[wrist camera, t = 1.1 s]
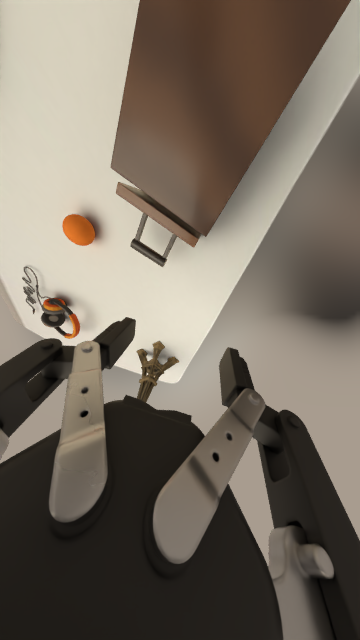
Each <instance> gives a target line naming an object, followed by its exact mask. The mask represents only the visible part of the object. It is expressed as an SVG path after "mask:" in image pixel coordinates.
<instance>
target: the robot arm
mask: <svg viewBox="0 0 360 640" xmlns="http://www.w3.org/2000/svg"><path fill="white" fill-rule="evenodd" d="M135 325H136V320H135V319H131V318H128V317H126V318H125V319H124V320H122V321H121V322H120V321H117V322H115V323H113V324H111V325H110V326H109V327H108V328H107V329H105V331H103V332H102V333H101V334H100V335H98V336H97V337H96V338H95V339H94V340H93V341H85V342H82V343H80V344H78V345H77V346H62V342H61V341H60V340H59V339H54V338H50V339H44V340H41V341H39V342H37V343H35V344H34V345H32V346H31V347H29V348H27V349H26V350H24V351H23V352H21V353H20V354H18V355H16V356H15V357H13V358H12V359H10V360H9V361H7V362H5V363H4V364H2V365H1V366H0V459H1V458H2V455H3V453H4V452H5V450H6V449H7V446H8V444H9V437H10V436H11V435H12V433H14V432H15V431H16V429H17V428H18V427H19V426H20V425H21V424H22V423H23V422H24V421H25V420H26V419H27V418H28V417H29V416H30V415H31V414H32V413H33V412H34V411H35V410H36V409H37V407H38V406H39V405H40V404H41V403H42V402H43V401H44V400H45V399H46V398H47V397H48V396H49V395H50V394H51V393H52V392H53V391H54V390H55V389H56V388H57V387H58V386H59V385H60V384H61V383H62V381H63V380H64V379H68V383H67V390H66V397H65V405H64V412H63V420H62V427H61V429H60V430H58V431H56V432H54V433H53V434H51V435H49V436H48V437H46V438H44V439H42V440H41V441H39V442H37V443H36V444H34V445H32V446H30V447H28V448H27V449H25V450H23V451H21V452H20V453H18V454H16V455H15V456H13V457H11V458H9V459H8V460H6V461H4V462H2V463H1V464H0V640H360V541H359V539H358V537H357V534H356V532H355V530H354V528H353V526H352V524H351V521H350V519H349V517H348V515H347V513H346V511H345V509H344V507H343V505H342V503H341V501H340V498H339V496H338V494H337V492H336V490H335V488H334V486H333V484H332V481H331V479H330V477H329V475H328V473H327V471H326V469H325V467H324V465H323V462H322V460H321V458H320V456H319V454H318V452H317V450H316V448H315V445H314V443H313V441H312V439H311V437H310V435H309V433H308V431H307V428H306V427H305V425H304V423H303V422H302V421H301V419H300V418H299V417H298V416H296V415H295V414H294V413H292V412H290V411H288V410H282V411H280V412H277V411H275V410H274V409H272V408H270V407H269V406H267V405H265V402H264V400H263V398H262V397H261V396H260V395H259V394H258V393H257V392H256V391H255V390H254V386H253V383H252V380H251V376H250V374H249V370H248V367H247V363H246V362H245V361H244V359H243V358H241V357H240V356H239V353H238V350H236V349H233V348H229V347H228V348H227V349H226V351H225V353H224V355H223V357H222V359H221V361H220V365H219V370H220V382H221V395H222V405H224V406H227V407H228V409H227V410H226V412H225V413H224V414H223V415H222V416H221V418H220V419H219V420H218V421H217V423H216V424H215V425H214V426H213V428H212V429H211V430H210V431H209V432H208V434H207V435H206V436H204V434H203V433H202V432H201V430H200V429H199V428H198V427H197V426H196V425H195V424H193V423H192V422H191V415H187V414H184V413H181V412H178V411H172V410H156V409H154V408H153V407H152V406H150V405H149V404H147V403H146V402H144V401H143V400H140V399H137V398H134V397H131V396H127V395H126V396H125V397H124V399H123V400H117V401H112V402H108V403H106V404H104V398H103V384H102V370H104V368H107V369H111V368H112V366H113V365H114V364H115V363H116V361H117V360H118V359H119V357H120V356H121V355H122V354H123V352H124V351H125V350H126V348H127V347H128V346H129V344H130V343H131V342H132V340H133V338H134V335H135ZM40 371H41V372H40ZM39 372H40V373H39ZM37 373H38V374H37ZM36 374H37V375H36ZM35 375H36V376H35ZM34 376H35V377H34ZM33 377H34V378H33ZM31 378H33V379H31ZM30 379H31V380H30ZM29 380H30V381H29ZM28 381H29V382H28ZM27 382H28V383H27ZM252 437H253V438H255V439H256V440H257V441H258V447H259V452H260V457H261V462H262V468H263V473H264V478H265V483H266V488H267V494H268V499H269V504H270V509H271V514H272V519H273V525H274V529H273V530H272V531H271V533H270V536H269V566H267V563H266V561H265V559H264V556H263V554H262V552H261V550H260V548H259V546H258V544H257V542H256V540H255V538H254V536H253V534H252V532H251V530H250V527H249V526H248V524H247V521H246V519H245V517H244V515H243V513H242V511H241V509H240V507H239V505H238V503H237V501H236V499H235V497H234V494H233V492H232V490H231V489H230V486H229V484H228V482H229V480H230V478H231V476H232V474H233V473H234V471H235V469H236V467H237V465H238V463H239V461H240V459H241V457H242V455H243V453H244V451H245V450H246V448H247V446H248V444H249V442H250V440H251V438H252Z"/></svg>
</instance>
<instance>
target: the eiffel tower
mask: <svg viewBox="0 0 360 640" xmlns="http://www.w3.org/2000/svg"><path fill="white" fill-rule="evenodd" d="M153 347H154V353H153V359H151V360H150V361H147V358H146V356H147V353H146V352H145V351H144V350H143V349H140V350H138V351H136V352H137V353H138V355H139V358H140V361H141V364H142V367H141V368H142V379H140V380H139V383H141V385H140V388H139V392H138V396H137V399H140V400H143V401H144V402H147V399H148V397H149V395H150V393H151V391H152V389H153V387H154V386H156V385H157V383H156V381H157V380H158V378H159V377H160V376H161V375H162V374H164V371H165V370H167V369H168V368H170V367H171V366H173V365H174V364H175V363H178V362H179V361H178V360H177V359H176V358H175V357H172V358H169V359H168V362H166V363H165V364H164V365H161V364H160V363H159V361H158V359H157V358H158V356H159V354H160V352H161V350H162V349H163V348H165V346H164V345H163V344H162V343H161V342H160V341H158V342H156V343H154V344H153ZM150 366H151V367H150ZM147 373H148V375H147V376H146V374H147ZM154 376H155V377H154Z"/></svg>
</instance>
